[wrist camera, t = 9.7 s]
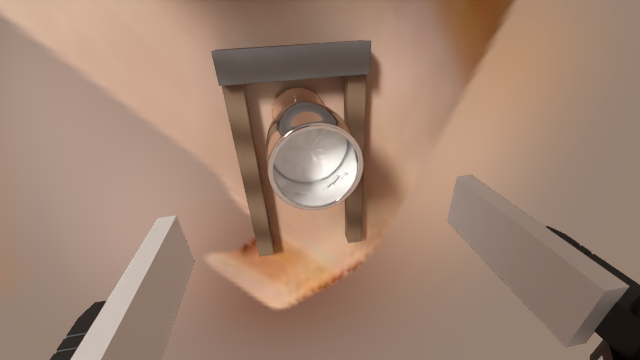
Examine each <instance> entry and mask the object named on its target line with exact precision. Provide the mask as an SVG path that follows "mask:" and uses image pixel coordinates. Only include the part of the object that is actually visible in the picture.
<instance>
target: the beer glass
mask: <svg viewBox="0 0 640 360" xmlns="http://www.w3.org/2000/svg"><path fill="white" fill-rule="evenodd" d="M272 120H273V121H272V123H271V125H270V127H269V129H268V133H267V139H266V161H267V167H268V178H269V181H270V184H271V186H272V188H273V190H274V192H275V193H276V194H277V195H278V196H279V197H280V198H281V199H282V200H283V201H284V202H286V203H287V204H289V205H291V206H293V207H296V208H299V209H303V210H321V209H326V208H329V207H332V206H334V205H336V204H338V203H340V202H342V201H343V200H344V199H346V198H347V197H348V196H349V195H350V194H351V193H352V192H353V191H354V189H355V188H356V186H357V185H358V183H359V181H360V179H361V176H362V172H363V156H362V152H361V149H360V147H359V145H358V143H357V142H356V140H355V139H354V137H353V135H352V133H351V131H350V130H349V128H348V126H347V125H346V124H345V122H344V121H343V120H342V118H341V117H340V116H339V115H338V114H337V113H336V112H334V111H333V110H332V109H331V108H329V107H327V106H325V105H324V104H322V102H321V100H320V99H319V97H318V96H317V95H316V94H315V93H314V92H312V91H310V90H308V89H306V88H301V87H295V88H290V89H288V90H286V91H284V92H282V93H281V94H280V95H279V96H278V97H277V99H276V100H275V102H274V104H273V108H272Z"/></svg>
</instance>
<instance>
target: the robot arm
mask: <svg viewBox="0 0 640 360" xmlns="http://www.w3.org/2000/svg"><path fill="white" fill-rule="evenodd" d="M447 222H448V223H449V224H450V225H451V226H452V227H453V228H454V229H455V230H456V231H457V232H458V234H460V236H461V237H462V238H463V239H464V240H465V241H466V242H467V243H468V244H469V245H470V246H471V248H472V249H473V250H474V251H475V252H476V253H477V254H478V255H479V256H480V257H481V258H482V259H483V260H484V261H485V262H486V264H487V265H488V266H489V267H490V268H491V269H492V270H493V271H494V272H495V273H496V274H497V275H498V276H499V277H500V278H501V280H503V282H504V283H505V284H506V285H507V286H508V287H509V288H510V289H511V290H512V291H513V292H514V293H515V295H516V296H517V297H518V298H519V299H520V300H521V301H522V302H523V303H524V304H525V305H526V306H527V307H528V308H529V310H530V311H532V313H533V314H534V315H535V316H536V317H537V318H538V319H539V320H540V321H541V322H542V323H543V325H544V326H546V328H547V329H548V330H549V331H550V332H551V333H552V334H553V335H554V336H555V337H556V338H557V339H558V341H559V342H560V343H561V344H562V345H563V346H564V347H565V348H566V347H570V346H574V345H579V344H583V343H586V342H587V341H588V339H589V338H590V337H591V336H592V334H593V333H594V332H596V333H597V334H598V335H599V336H600V337H601V338H603V341H602V342H601V343H600V344H599V346H598V347H597V348H596V349H595V351H594V352H593V353H592V354H591V355H590V360H598V359H599V358H600V356H603V360H640V285H639V284H637V283H636V282H635V281H633V280H632V279H630V278H629V277H627V276H626V275H624V274H623V273H621V272H620V271H619V270H617V269H616V268H614V267H612V266H611V265H610V264H608V263H607V262H605V261H604V260H602V259H601V258H599V257H598V256H596V255H595V254H592V253H591V252H590V251H589V250H588V249H586V248H585V247H583V246H580V245H579V243H577V242H576V241H575V240H573V239H572V238H570V237H568V236H567V235H566V234H564V233H562V232H559V231H557V230H555V229H553V228H551V227H548V226H546V227H545V226H543V225H542V224H541V223H539V222H538V221H536V220H535V219H534V218H532V217H531V216H529V215H528V214H526V213H525V212H524V211H522V210H521V209H519V208H518V207H517V206H515V205H514V204H512V203H511V202H509V201H508V200H507V199H505V198H504V197H502V196H501V195H499V194H498V193H496V192H495V191H494V190H492V189H491V188H490V187H488V186H487V185H485V184H484V183H482V182H481V181H480V180H478V179H477V178H475V177H474V176H473V175H466V176H459V177H457V180H456V184H455V189H454V193H453V198H452V202H451V207H450V211H449V216H448V220H447ZM194 262H195V260H194V258H193V256H192V253H191V250H190V248H189V246H188V243H187V240H186V238H185V236H184V233H183V231H182V228H181V226H180V223H179V221H178V218H177V216H170V217H162V218H158V219H157V220H156V222H155V223H154V225H153V227H152V228H151V230H150V232H149V233H148V235H147V236H146V238H145V240H144V241H143V243H142V245H141V246H140V248H139V250H138V251H137V253H136V254H135V256H134V258H133V259H132V261H131V262H130V264H129V266H128V267H127V269H126V271H125V272H124V274H123V276H122V277H121V279H120V280H119V282H118V284H117V285H116V287H115V288H114V290H113V292H112V293H111V295H110V296H109V298H108V300H107V301H101V302H96V303H94V304H93V305H92V306H91V307H90V308H89V309H87V310H86V311H85V312H84V313H83V314H82V315H81V316H80V317H79V318H78V319H77V321H76V322H75V324H74V325H73V327H72V328H71V330H70V331H69V333H68V334H67V338H66V339H64V340H63V341H62V343H61V344H60V346H59V347H58V349H57V353H56V354H54V355H53V356H52V358H51V359H50V360H162V357H163V354H164V351H165V348H166V345H167V342H168V340H169V336H170V334H171V331H172V328H173V325H174V321H175V319H176V316H177V313H178V310H179V307H180V304H181V301H182V298H183V295H184V292H185V289H186V286H187V283H188V280H189V277H190V274H191V271H192V268H193V265H194Z"/></svg>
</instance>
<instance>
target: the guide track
mask: <svg viewBox="0 0 640 360" xmlns="http://www.w3.org/2000/svg"><path fill="white" fill-rule="evenodd" d="M211 52H212V57H213V61H214V66H215V70H216V74H217V79H218V83H219V86H222V90H223V94H224V99H225V103H226V108H227V112H228V117H229V121H230V126H231V130H232V135H233V139H234V144H235V148H236V153H237V157H238V161H239V166H240V170H241V175H242V179H243V184H244V188H245V193H246V197H247V202H248V206H249V211H250V215H251V220H252V224H253V229H254V233H255V238H256V242H257V247H258V251H259V256H266V255H272V254H274V245H273V239H272V234H271V228H270V223H269V217H268V212H267V207H266V201H265V196H264V190H263V185H262V179H261V174H260V168H259V163H258V157H257V152H256V146H255V141H254V136H253V130H252V125H251V119H250V114H249V108H248V103H247V97H246V92H245V86H244V84H249V83H261V82H274V81H286V80H299V79H311V78H324V77H336V76H344V122H345V124H346V125H347V126H348V128H349V130H350V131H351V133H352V135H353V137H354V139H355V140H356V142H357V143H358V145H359V147H360V149H361V152H362V156H363V165H364V131H365V97H366V74H370V54H371V41H364V40H360V41H345V42H329V43H314V44H299V45H283V46H268V47H253V48H237V49H222V50H214V51H211ZM362 200H363V172H362V176H361V179H360V181H359V183H358V185H357V186H356V188H355V189H354V191H353V192H352V193H351V194H350V195H349V196H348V197H347V198H346V199H345V235H346V238H347V241H348V243H351V242H357V241H361V234H362Z"/></svg>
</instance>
